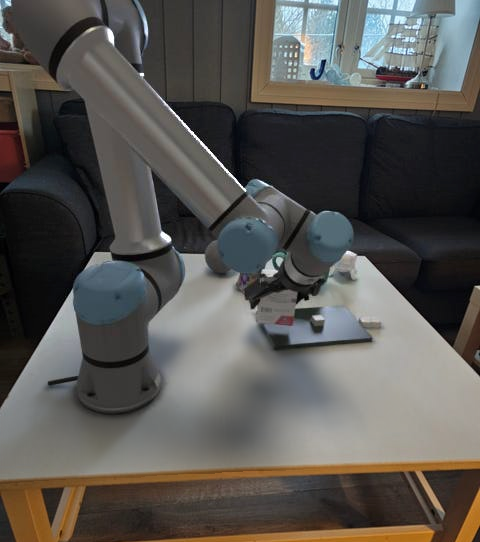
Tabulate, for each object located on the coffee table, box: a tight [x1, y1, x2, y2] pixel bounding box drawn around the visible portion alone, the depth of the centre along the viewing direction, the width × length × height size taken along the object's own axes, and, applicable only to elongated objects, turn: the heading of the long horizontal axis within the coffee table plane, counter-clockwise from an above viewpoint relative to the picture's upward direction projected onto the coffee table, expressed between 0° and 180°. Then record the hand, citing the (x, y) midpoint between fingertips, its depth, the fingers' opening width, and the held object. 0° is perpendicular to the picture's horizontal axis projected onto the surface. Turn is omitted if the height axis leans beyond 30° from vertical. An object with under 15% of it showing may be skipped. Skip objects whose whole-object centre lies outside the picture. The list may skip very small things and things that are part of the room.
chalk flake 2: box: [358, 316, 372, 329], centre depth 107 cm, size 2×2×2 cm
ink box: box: [255, 268, 298, 326], centre depth 98 cm, size 9×5×12 cm, turn 85°
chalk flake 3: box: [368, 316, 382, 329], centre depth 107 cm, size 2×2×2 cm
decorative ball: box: [204, 239, 232, 274], centre depth 128 cm, size 10×10×10 cm
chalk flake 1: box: [311, 315, 325, 326], centre depth 105 cm, size 2×2×2 cm
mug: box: [235, 264, 267, 292], centre depth 121 cm, size 12×9×11 cm
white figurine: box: [328, 249, 358, 281], centre depth 132 cm, size 9×8×15 cm
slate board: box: [255, 305, 374, 350], centre depth 105 cm, size 24×16×1 cm, turn 103°
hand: (271, 302), depth 103 cm, fingers closed on ink box, 9 cm apart
